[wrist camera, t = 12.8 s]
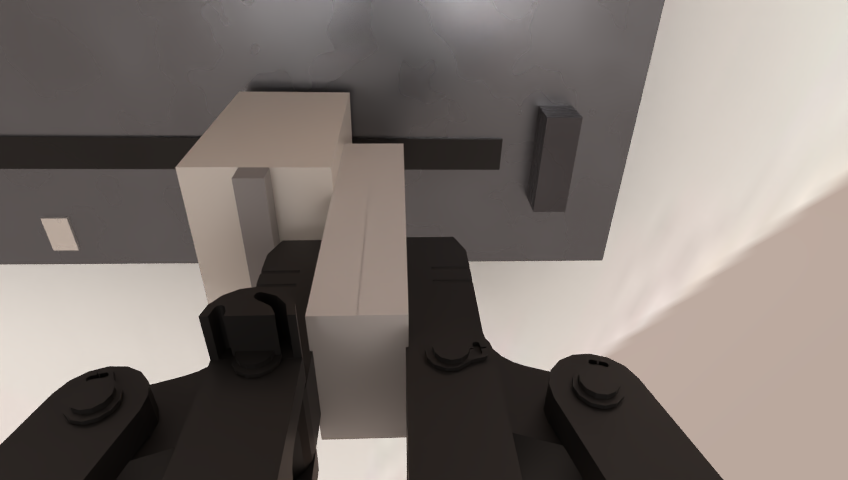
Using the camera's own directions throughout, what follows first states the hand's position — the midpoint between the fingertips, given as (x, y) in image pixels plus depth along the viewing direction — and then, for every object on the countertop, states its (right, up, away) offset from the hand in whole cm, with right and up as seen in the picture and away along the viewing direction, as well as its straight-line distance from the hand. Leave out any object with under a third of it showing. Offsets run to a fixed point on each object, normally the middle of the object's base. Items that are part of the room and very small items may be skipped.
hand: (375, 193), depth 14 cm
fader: (-2, +1, +2) cm, 3 cm away
